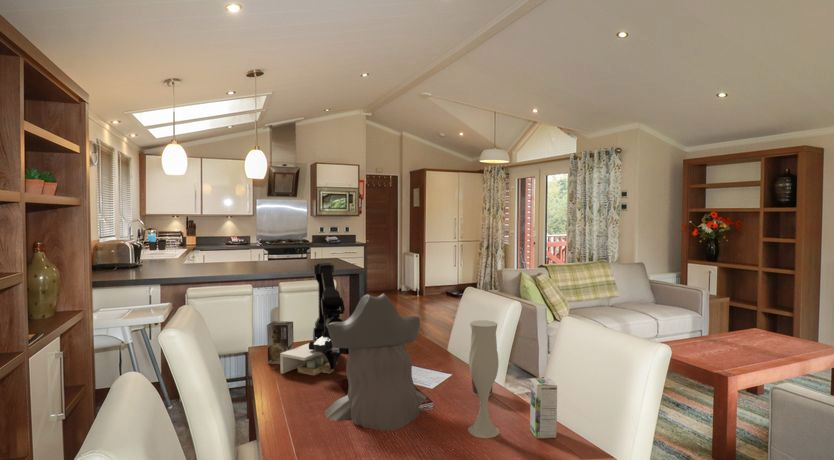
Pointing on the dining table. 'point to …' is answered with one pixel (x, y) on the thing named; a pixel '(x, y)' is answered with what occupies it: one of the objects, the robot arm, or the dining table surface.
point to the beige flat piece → (324, 368)
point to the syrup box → (543, 408)
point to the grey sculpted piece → (377, 366)
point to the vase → (483, 373)
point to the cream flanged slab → (298, 357)
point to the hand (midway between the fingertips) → (332, 369)
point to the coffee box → (279, 339)
